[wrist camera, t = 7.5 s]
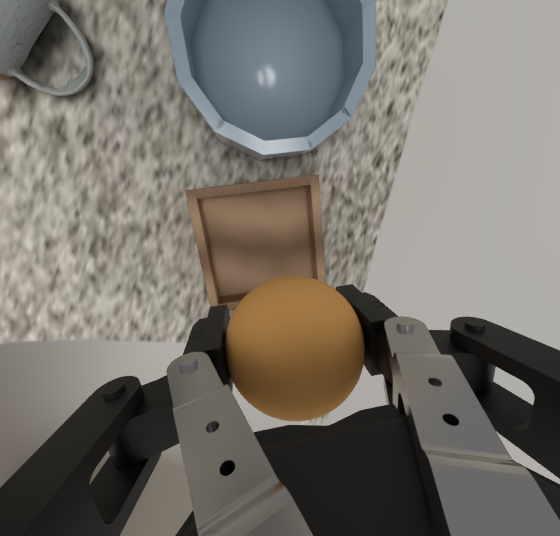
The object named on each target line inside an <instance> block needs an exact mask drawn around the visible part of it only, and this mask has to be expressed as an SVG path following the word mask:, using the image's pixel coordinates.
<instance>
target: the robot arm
mask: <svg viewBox="0 0 560 536" xmlns="http://www.w3.org/2000/svg"><path fill="white" fill-rule="evenodd" d="M336 291H338V292H339V293H340V294H341V295H342V296H343V297H344V298H345V299H346V300H347V301H348V302H349V304H350V305H351V306H352V308H353V310H354V311H355V313H356V315H357V317H358V319H359V322H360V324H361V327H362V331H363V335H364V342H365V355H364V366H365V367H366V369H367V370H368V372H369V373H370V375H371V376H374V375H378V374H383V376H384V390H385V395H386V401H387V405H385V406H379V407H374V408H370V409H365V410H360V411H358V412H356V413H354V414H352V415H350V416H348V417H346V418H344V419H342V420H340V421H338V422H336V423H334V424H331V425H328V426H310V425H287V426H283V427H277V428H272V429H268V430H263V431H258V432H254V433H253V431H252V429H251V427H250V425H249V424H248V422H247V420H246V418H245V416H244V414H243V412H242V410H241V409H240V406H239V405H238V403H237V401H236V399H235V397H234V395H233V393H232V388H233V380H232V378H231V376H230V374H229V370H228V367H227V361H226V352H225V337H226V332H227V327H228V324H229V321H230V316H229V311H228V306H227V304H224V305H218V306H212V307H210V310H209V314H208V317H207V318H203V319H199V320H198V321H197V322H196V323H195V324H194V325H193V327H192V330H191V334H190V336H189V340H188V342H187V344H186V347H185V350H184V353H183V355H182V356H180V357H178V358H177V359H175V360H174V361H173V362H171V363H170V365H169V366H168V368H167V375H166V376H164V377H162V378H160V379H158V380H156V381H153V382H150V383H148V384H145V385H142V386H141V384H140V381H139V379H138V378H137V377H134V376H124V377H120V378H117V379H114V380H112V381H110V382H108V383H106V384H104V385H103V386H101V387H100V388H98V389H97V390H96V391H95V392H94V393H93V394H92V395H91V396H90V397H89V398H88V399H87V400H86V401H85V402H84V403H83V404H82V405H81V406H80V407H79V408H78V409H77V410H76V411H75V412H74V413H73V414H72V415H71V416H70V417H69V419H67V420H66V421H65V422H64V424H63V425H62V426H60V427H59V428H58V430H57V431H56V432H55V433H54V434H53V435H52V436H51V437H50V438H49V439H48V440H47V441H46V442H45V443H44V444H43V445H42V446H41V447H40V448H39V449H38V450H37V451H36V452H35V453H34V454H33V455H32V456H31V457H30V458H29V459H28V460H27V461H26V462H25V463H24V464H23V465H22V466H21V467H20V468H19V469H18V470H17V471H16V473H14V474H13V475H12V476H11V478H10V479H8V480H7V482H6V483H5V484H4V485H3V486H2V487H1V488H0V536H120V534H121V532H122V530H123V528H124V526H125V524H126V522H127V520H128V518H129V516H130V515H131V513H132V511H133V509H134V507H135V505H136V503H137V501H138V499H139V497H140V495H141V493H142V491H143V489H144V487H145V485H146V483H147V482H148V480H149V478H150V476H151V474H152V472H153V470H154V468H155V466H156V464H157V462H158V460H159V458H160V456H161V453H162V451H164V450H166V449H168V448H170V447H172V446H174V445H176V444H179V443H180V448H181V453H182V458H183V463H184V467H185V473H186V477H187V482H188V487H189V492H190V497H191V502H192V507H193V511H192V512H191V514H190V516H189V517H188V518H187V520H186V521H185V523H184V524H183V525H182V527H181V528H180V530H179V531H178V533H177V534H176V536H560V484H558V483H555V482H554V481H552V480H550V479H548V478H546V477H544V476H542V475H540V474H538V473H536V472H534V471H532V470H530V469H528V468H526V467H524V466H522V465H521V464H519V463H517V462H515V461H514V460H513V459H512V458H511V456H510V455H509V453H508V452H507V450H506V448H505V446H504V445H503V443H502V441H501V439H500V438H499V436H498V434H497V432H498V433H499V434H501V435H502V436H503V437H505V438H506V439H508V440H509V441H510V442H511V443H513V444H514V445H515V446H517V447H518V448H520V449H521V450H522V451H523V452H525V453H526V454H527V455H529V456H530V457H531V458H533V459H534V460H536V461H537V462H538V463H539V464H541V465H542V466H544V467H545V468H546V469H547V470H549V471H550V472H551V473H553V474H554V475H555V476H557V477H558V478H560V351H559V350H557V349H555V348H552V347H550V346H547V345H545V344H543V343H540V342H538V341H535V340H533V339H530V338H528V337H526V336H523V335H521V334H518V333H516V332H513V331H511V330H509V329H506V328H504V327H501V326H499V325H497V324H494V323H492V322H489V321H487V320H484V319H479V318H475V317H458V318H455V319H453V320H452V321H451V326H450V330H428V329H427V327H426V325H425V324H424V323H422V322H421V321H419V320H417V319H414V318H410V317H398V316H397V315H396V314H395V313H394V312H392V311H391V310H390V309H389V308H388V307H387V306H385V305H384V304H383V303H382V302H380V300H378V299H377V298H376V297H375V296H373V295H370V294H368V293H365V292H364V293H361V292H360V291H359V290H358V289H357V288H356V287H355V286H354V285H352V284H351V285H345V286H338V287H336ZM495 367H498V368H500V369H502V370H504V371H505V372H507V373H509V374H511V375H513V376H515V377H517V378H518V379H520V380H522V381H524V382H525V383H526V384H527V385H528V386H529V387H530V388H531V389H532V391H533V393H534V396H535V400H534V404H533V405H531V404H530V403H528V402H526V401H525V400H523V399H521V398H519V397H518V396H516V395H515V394H513V393H511V392H510V391H508V390H506V389H505V388H503V387H501V386H500V385H498V384H496V383H495V382H493V378H494V373H495ZM496 431H497V432H496ZM107 451H109V454H110V457H109V458H108V459H107V461H106V462H105V464H104V465H103V467H102V468H101V469H100V471H99V473H98V474H97V475H96V477H95V478H94V479H93V481H92V482H91V484H90V485H89V482H90V479H91V476H92V473H93V471H94V469H95V468H96V466H97V465H98V464H99V462H100V461H101V459H102V458H103V457H104V455H105V454H106V453H107Z"/></svg>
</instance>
